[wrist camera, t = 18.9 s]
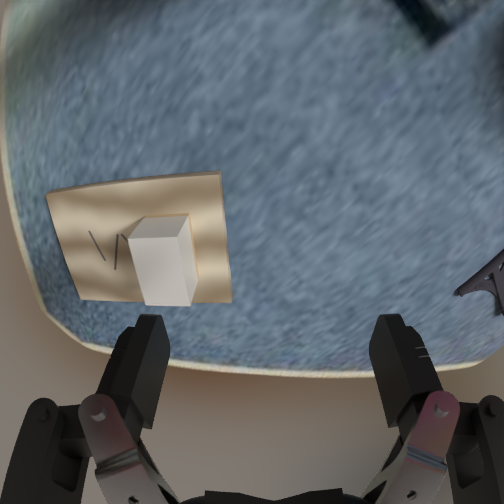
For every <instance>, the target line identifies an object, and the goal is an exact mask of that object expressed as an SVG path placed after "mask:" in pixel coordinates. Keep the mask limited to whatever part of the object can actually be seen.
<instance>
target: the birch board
mask: <svg viewBox="0 0 504 504" xmlns="http://www.w3.org/2000/svg"><path fill="white" fill-rule="evenodd" d="M46 198H47V202H48V206H49V209H50V213H51V216H52V220H53V223H54V227H55V230H56V233H57V236H58V239H59V242H60V245H61V248H62V251H63V254H64V257H65V260H66V263H67V265H68V268H69V271H70V274H71V276H72V279H73V281H74V284H75V286H76V289H77V291H78V294H79V296H80V299H81V300H101V301H127V302H145V301H144V298H143V294H142V291H141V287H140V284H139V281H138V277H137V273H136V270H135V266H134V262H133V259H132V255H131V251H130V247H129V243H128V238H129V236H130V235H131V234H132V232H133V231H134V230H135V229H136V227H137V226H138V225H139V223H140V222H141V221H142V220H143V218H144V217H145V216H146V215H159V214H177V213H190V219H191V226H192V233H193V240H194V247H195V253H196V260H197V266H198V272H199V278H198V281H197V285H196V288H195V292H194V295H193V299H192V302H191V303H232V296H233V294H232V284H231V275H230V265H229V255H228V244H227V234H226V223H225V212H224V201H223V189H222V177H221V171H208V172H194V173H181V174H170V175H159V176H149V177H140V178H131V179H122V180H114V181H107V182H100V183H92V184H86V185H79V186H73V187H67V188H61V189H55V190H51V191H50V192H48V193H47V194H46Z"/></svg>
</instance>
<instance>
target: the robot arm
mask: <svg viewBox="0 0 504 504" xmlns="http://www.w3.org/2000/svg"><path fill="white" fill-rule="evenodd" d="M369 356H370V360H371V363H372V367H373V370H374V374H375V378H376V381H377V385H378V389H379V392H380V396H381V400H382V404H383V408H384V412H385V416H386V420H387V424H388V428H391V427H396V426H398V427H399V434H398V435H397V437H396V439H395V441H394V443H393V445H392V447H391V449H390V451H389V453H388V455H387V457H386V458H385V460H384V462H383V464H382V466H381V467H380V469H379V471H378V473H377V474H376V476H375V477H374V478H373V479H372V481H371V482H370V483H369V485H368V486H367V488H366V489H365V490H364V492H363V493H362V495H361V496H360V497H356V496H353V495H349V494H343V492H342V488H337V489H330V490H320V491H309V492H306V493H303V494H300V495H296V496H292V497H288V498H284V499H281V500H276V501H272V500H266V499H262V498H257V497H254V496H249V495H245V494H241V493H232V492H217V491H205V496H199V497H195V498H191V499H189V500H186V501H183V502H180V501H179V499H178V498H177V496H176V495H175V493H174V492H173V490H172V489H171V487H170V486H169V485H168V483H167V482H166V481H165V479H164V478H163V477H162V475H161V474H160V472H159V470H158V468H157V467H156V465H155V463H154V462H153V460H152V458H151V456H150V454H149V453H148V451H147V449H146V447H145V445H144V444H143V442H142V440H141V438H140V434H141V430H142V428H146V429H152V426H153V421H154V417H155V413H156V409H157V404H158V400H159V396H160V392H161V388H162V384H163V380H164V376H165V372H166V368H167V365H168V361H169V357H170V342H169V339H168V335H167V332H166V328H165V325H164V322H163V318H162V316H161V315H154V314H141V315H140V316H139V318H138V320H137V323H136V325H135V327H127V328H126V329H125V330H124V331H123V332H122V333H121V334H120V336H119V337H118V340H117V342H116V344H115V347H114V349H113V351H112V354H111V358H110V359H109V361H108V364H107V366H106V369H105V371H104V374H103V376H102V379H101V381H100V384H99V387H98V389H97V391H96V393H95V394H93V395H90V396H88V397H87V398H85V399H84V400H83V401H82V403H81V404H79V405H69V406H57V405H56V404H55V402H54V401H52V400H51V399H48V398H39V399H37V400H35V401H34V402H33V403H32V404H31V405H30V406H29V408H28V410H27V413H26V415H25V418H24V420H23V423H22V426H21V429H20V432H19V435H18V438H17V441H16V444H15V447H14V450H13V453H12V456H11V460H10V463H9V467H8V470H7V474H6V478H5V482H4V486H3V490H2V494H1V498H0V504H81V498H82V493H83V488H84V482H85V477H86V472H87V468H88V463H89V458H90V457H94V460H95V463H96V466H97V469H96V470H95V476H96V479H97V481H98V483H99V486H100V488H101V490H102V492H103V495H104V497H105V499H106V501H107V503H108V504H432V503H433V501H434V499H435V497H436V495H437V493H438V490H439V488H440V486H441V483H442V481H443V479H444V476H445V473H446V470H447V466H448V471H449V477H450V482H451V488H452V494H453V501H454V504H504V402H503V401H502V400H501V399H500V398H499V397H497V396H494V395H488V396H486V397H484V398H483V399H482V400H481V401H480V402H479V403H478V404H477V403H463V402H458V400H457V399H456V398H455V397H454V396H453V395H452V394H451V393H449V392H446V391H444V390H443V388H442V386H441V383H440V381H439V378H438V376H437V373H436V371H435V368H434V366H433V363H432V361H431V359H430V357H429V354H428V352H427V349H426V348H425V345H424V343H423V340H422V338H421V336H420V335H419V334H418V333H417V332H416V330H415V329H414V328H413V327H412V326H405V323H404V321H403V319H402V317H401V315H400V314H383V315H380V316H379V317H378V319H377V322H376V325H375V328H374V331H373V334H372V337H371V340H370V343H369ZM479 448H480V449H479ZM480 452H481V453H480ZM445 456H446V461H447V465H446V464H444V459H445ZM481 456H482V457H481ZM482 460H483V461H482Z"/></svg>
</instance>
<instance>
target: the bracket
mask: <svg viewBox="0 0 504 504" xmlns="http://www.w3.org/2000/svg"><path fill="white" fill-rule="evenodd" d="M502 263H503V266H502V268H501V269H500V270H499V266H500V265H501V264H502ZM490 273H491V274H492V278H490V279H488V280H485V279H484V278H485V277H487V276H488V275H489V274H490ZM457 290H458V291H459V293H460V296H461V297H462V296H463V295H465V294H467V293H470V292H473V291H478V290H488V291H491V292H492V293H494V294H495V295H496V296H497V297H498V299H499V303H500V308H501V312H502V314H503V316H504V250H503V251H501V252H500V253H499V254H498V255H497V256H496V257H495V258H494V259H492V260H491V261H490V262H489V263H488V264H487V265H486V266H484V267H483V268H482V269H481V270H480V271H479V272H477V273H476V274H475V275H474V276H472V277H471V278H470V279H469V280H468V281H466V282H465V283H464V284H463V285H461V286H460V287H459V288H458V289H457Z"/></svg>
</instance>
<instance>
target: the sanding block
mask: <svg viewBox="0 0 504 504" xmlns="http://www.w3.org/2000/svg"><path fill="white" fill-rule="evenodd" d="M128 243H129V247H130V251H131V255H132V259H133V262H134V266H135V270H136V273H137V277H138V281H139V284H140V287H141V291H142V294H143V298H144V301H145V304H146V305H155V306H190V305H191V302H192V299H193V295H194V292H195V288H196V285H197V281H198V278H199V272H198V266H197V260H196V253H195V247H194V240H193V233H192V226H191V219H190V213H177V214H159V215H146V216H145V217H144V218H143V220H142V221H141V222H140V223H139V225H138V226H137V227H136V229H135V230H134V231H133V232H132V234H131V235H130V236H129V238H128Z"/></svg>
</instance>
